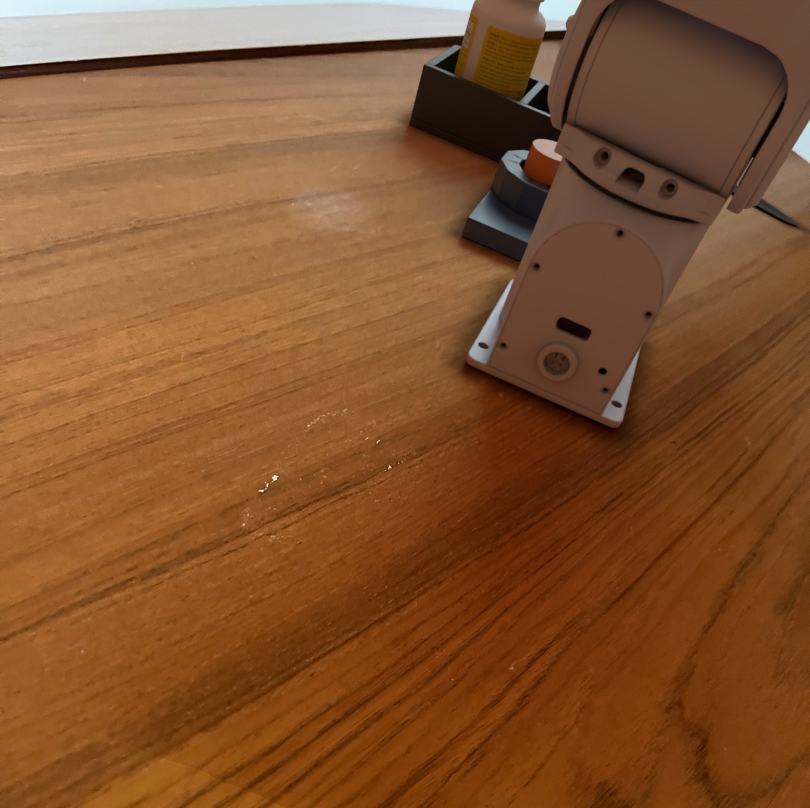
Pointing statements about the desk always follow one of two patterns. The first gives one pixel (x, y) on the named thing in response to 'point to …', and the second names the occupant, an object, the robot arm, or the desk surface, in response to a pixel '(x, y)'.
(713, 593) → the desk surface
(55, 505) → the desk surface
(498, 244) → the block
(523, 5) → the supplement bottle
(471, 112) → the rack
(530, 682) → the desk surface
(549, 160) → the button
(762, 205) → the knife
